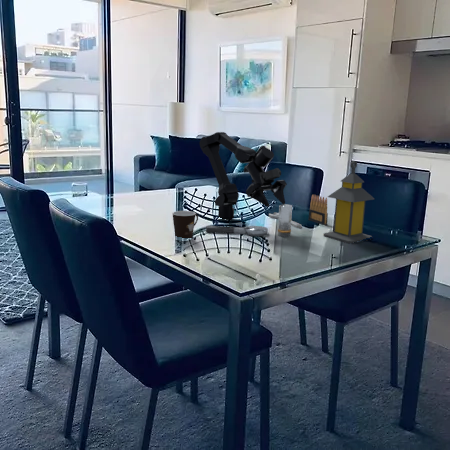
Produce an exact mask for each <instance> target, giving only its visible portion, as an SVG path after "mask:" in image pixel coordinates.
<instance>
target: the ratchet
mask: <svg viewBox="0 0 450 450" xmlns="http://www.w3.org/2000/svg"><path fill="white" fill-rule="evenodd" d="M205 230H206V231H205V232H208V233H211V234H235V235H236V234H237V235H246V236H250V237H264V236H265V237H266V236H267V235H268V233H269V230H268V227H266V226H261V225H249V226H243V227H236V226H226V225H225V226H222V225H221V226H220V225H206V227H205Z"/></svg>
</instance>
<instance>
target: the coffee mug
mask: <svg viewBox="0 0 450 450" xmlns="http://www.w3.org/2000/svg"><path fill="white" fill-rule="evenodd" d="M198 216H199V215H198V214H197V213H196V212H194V211H190V210H177V211H173V212H172V221H173V229H174V237H175V236H177V237H182V238H192V237H194V228H195V226H196V225H197V223H198V220H199V217H198ZM192 239H193V238H192Z"/></svg>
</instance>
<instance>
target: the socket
mask: <svg viewBox="0 0 450 450" xmlns="http://www.w3.org/2000/svg"><path fill="white" fill-rule="evenodd" d="M292 211H293V205H292V204H286V203H285V204H282V203H281V204H279V206H278V213H279V219H278V224H277V225H278V227H277V236H278V237H282V238H289V237H291V235H292V233H291V232H292V225H291V220H292V217H293V216H292V214H293V212H292Z"/></svg>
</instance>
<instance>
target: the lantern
mask: <svg viewBox="0 0 450 450" xmlns="http://www.w3.org/2000/svg"><path fill="white" fill-rule="evenodd" d="M350 168H351V170H350V171H351V173H349V174H347V175H346V176H345V177H344V178H342V179H341V180H340V182H341V187H339V188H338V189H337V190H335V191H334V192H332V193H331V194H329V195H328V196H327V198H331V199H335V206H334V207H335V208H334V220H333V221H334V222H333V231H329V232H328V231H327V232H324V233H323V237H325V238H329V239H332V240H334V241H339V242H342V243H345V242H346V243H345V244H349V243H353V242H357V241H360V240H363V239H366V238H370V237H372V238H373V236H372V235H369V234H366V233H363V231H364V221H365V213H366V212H365V211H366V202H367V201H373V200H375V198H374V197H373V195H371V194H370V193H369V192H367V190H365V189H364V188H363V183H365V181H364V180H363V179H362V178H361V177H360V176H359V175H358V174H356V169H357V168H358V162H357V161H355V160H353V161H351V162H350ZM357 243H358V242H357ZM353 244H354V243H353Z"/></svg>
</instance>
